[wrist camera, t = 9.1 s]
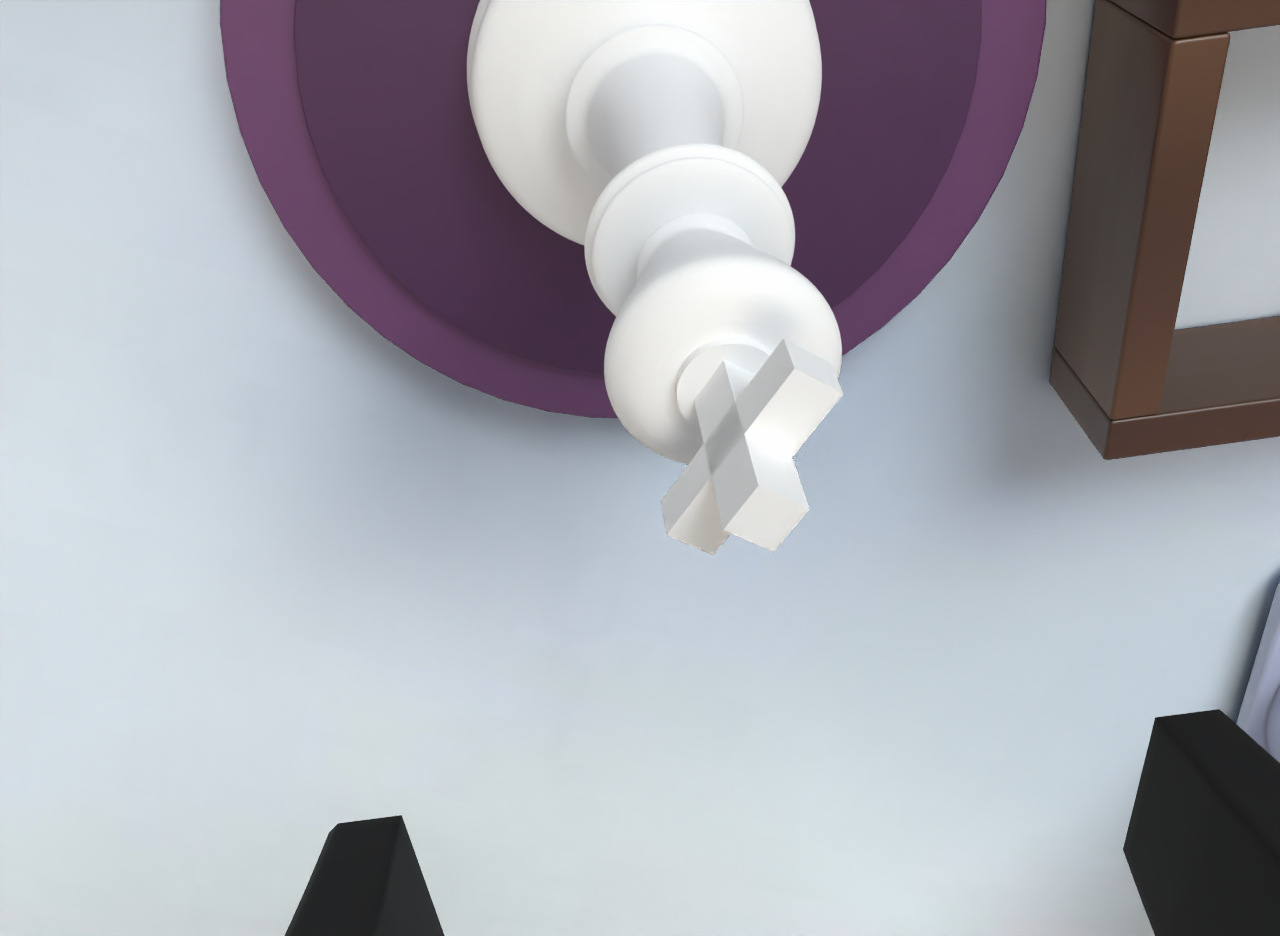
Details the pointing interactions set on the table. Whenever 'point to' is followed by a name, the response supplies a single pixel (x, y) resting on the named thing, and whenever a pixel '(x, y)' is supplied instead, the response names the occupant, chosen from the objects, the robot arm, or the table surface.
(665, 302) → the chess piece
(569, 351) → the lid
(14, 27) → the table surface
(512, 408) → the table surface
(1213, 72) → the rack
